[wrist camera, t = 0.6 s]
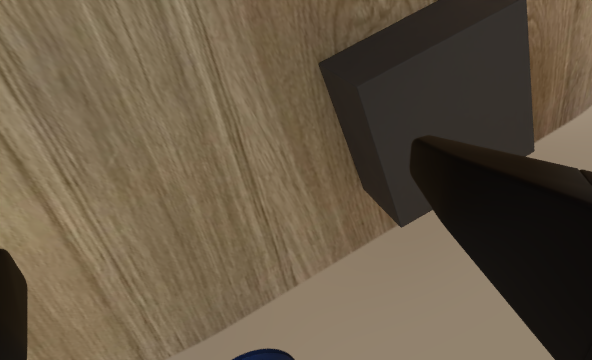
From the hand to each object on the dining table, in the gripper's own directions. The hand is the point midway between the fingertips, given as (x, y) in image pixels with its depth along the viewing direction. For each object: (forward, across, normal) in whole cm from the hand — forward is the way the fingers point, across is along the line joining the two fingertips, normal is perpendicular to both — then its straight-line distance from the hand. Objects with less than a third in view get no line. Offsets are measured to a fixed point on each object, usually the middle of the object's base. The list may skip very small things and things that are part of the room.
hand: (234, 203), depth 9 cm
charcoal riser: (+15, -14, +6) cm, 21 cm away
